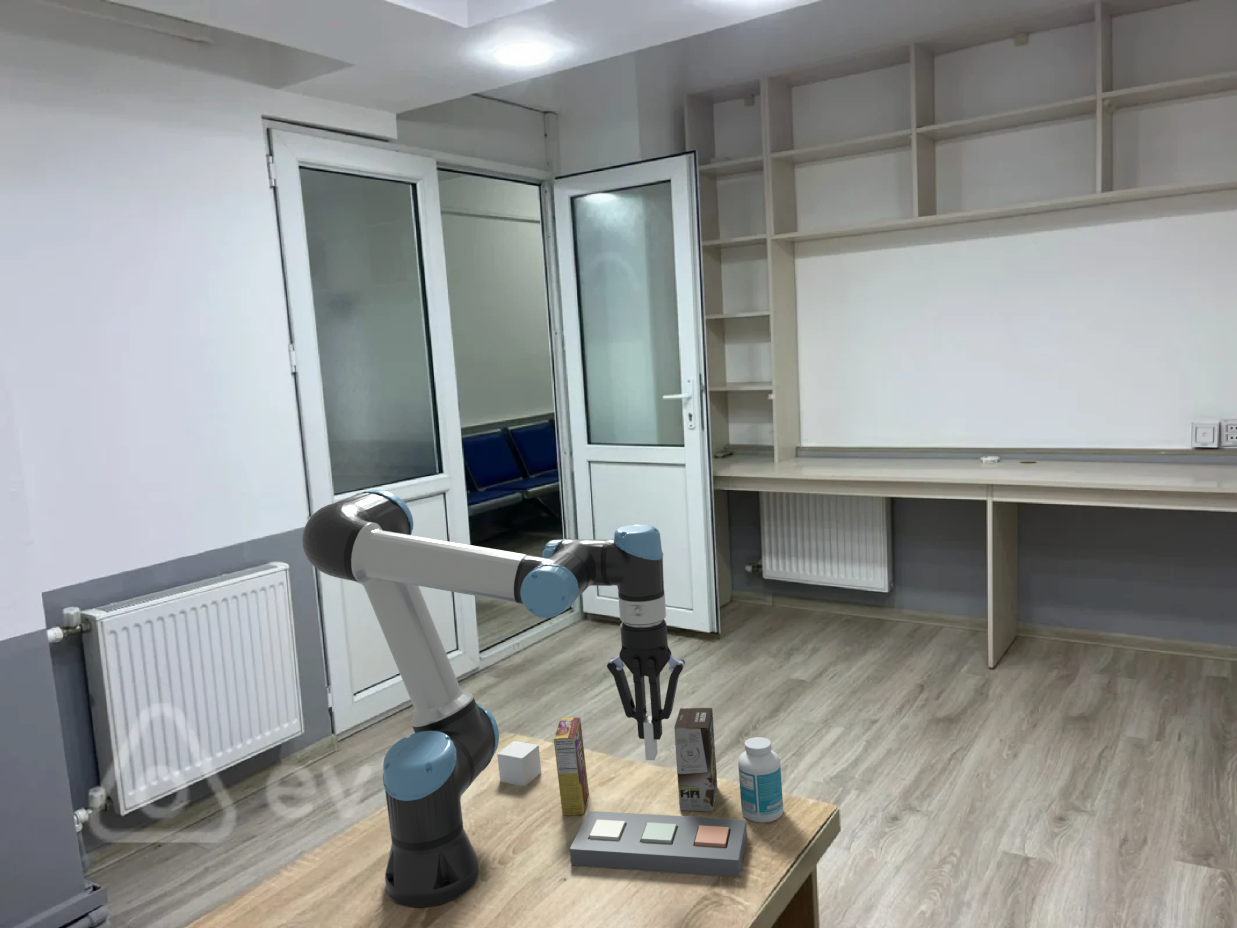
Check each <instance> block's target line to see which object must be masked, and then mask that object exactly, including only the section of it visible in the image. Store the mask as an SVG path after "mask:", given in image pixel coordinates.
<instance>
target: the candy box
mask: <svg viewBox="0 0 1237 928" xmlns="http://www.w3.org/2000/svg"><path fill="white" fill-rule="evenodd" d="M582 730H583V729H582V722H581V717H564V718H560V719H559V722H558V726H557V728H556V732H555V734H554V738H553V743H554V745H553V746H554V753H555V762H556V770H557V779H558V780H557V781H558V789H559V797H560V804H561V813H562V816H582V815H583V816H584V812H585V809H586V805H587V799H588V796H589V795H588V794H589V791H590V789H589V782H588V775H587V774H588V773H587V772H588V771H587V764H586V763H587V762H586V757H585V747H584V739H583V731H582Z"/></svg>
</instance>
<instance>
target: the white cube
mask: <svg viewBox="0 0 1237 928" xmlns="http://www.w3.org/2000/svg"><path fill="white" fill-rule="evenodd" d="M496 754H497V762H498V773H499V774H498V775H499V782H502V783H505V784H511V785H516V786H522V787H526V786H527V785H528V784H530V783H532V781H533V780H534V779H536V778H537V776H539V775H540V774H542V766H541V757H540V756H541V755H540V754H541V753H540V747H539V744H535V743H528V742H524V741H517V740H513V741H512V742H511V743H509V744H508V745H507V746H506V747H504V748H503V749H501V750H500V751H499V752H498V753H496Z"/></svg>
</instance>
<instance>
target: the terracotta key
mask: <svg viewBox="0 0 1237 928" xmlns="http://www.w3.org/2000/svg"><path fill="white" fill-rule="evenodd" d="M728 841H729V827H718V826H701V825H699V829H698V832H697V836H696V839H695V846H706V847H721V848H727V845H728Z"/></svg>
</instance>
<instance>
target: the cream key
mask: <svg viewBox="0 0 1237 928" xmlns="http://www.w3.org/2000/svg"><path fill="white" fill-rule="evenodd" d="M624 830H625V821H614V820H597V821H596V823H595V825H594V827H593V829H592V831H591V833H590V839H595V840H611V841H620V839H621V837H622V834H623V832H624Z"/></svg>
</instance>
